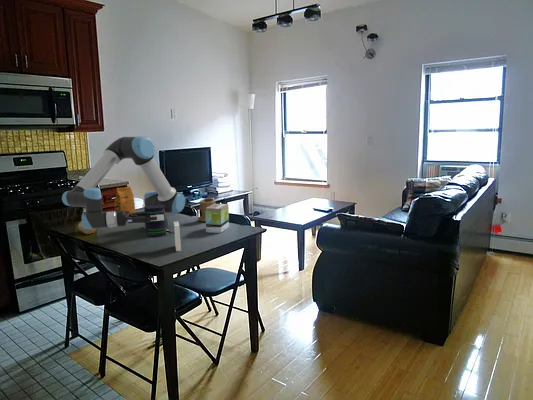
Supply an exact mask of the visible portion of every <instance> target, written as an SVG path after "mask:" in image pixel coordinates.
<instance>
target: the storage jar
mask: <svg viewBox="0 0 533 400" xmlns="http://www.w3.org/2000/svg"><path fill="white" fill-rule="evenodd" d="M143 209H144V210H143V211H145V212H144V214H145V216H151V215H163V214H164V220H160V221H150V223H146V229H145V233H146V238H148V239H158V238H162V237H165V236H167V228H166V224H165V216H166V212H165V210H164V205H161V204H155V205H147V206H145V205H144V207H143Z"/></svg>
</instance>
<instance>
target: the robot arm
mask: <svg viewBox="0 0 533 400" xmlns="http://www.w3.org/2000/svg"><path fill="white" fill-rule="evenodd" d="M155 151H156V150H155V144H154V142H153V141H152V140H151V138H149V137H148V136H147V137H146V136H142V135H141V136H140V135H138V136H122V137H119V138H117V139H115V140H114V141H113V142H111V143H110V144H109V145H108V146H107V147H106V148H105V149H104V150H103V155H102V156H101V157H100V158H99V159H98V160H97V162H95V164H94V165H93V166H92V167H91V168H90V169H89V171H88V172H87V173H86V174H85V175H84V176H83V177H82V178H81V180H79V182H78V183H77V184H76V185H75V186H74V187H73V188H72V189H71V190H67V191H65V192H63V193H62V196H61V201H62V203H63V204H64V205H65V206H68V207H73V208H74V207H75V208H76V207H78V208H85V213H83V214H82V215H81V221H82V226H83V228H84V229H96V230H97V229H103V228H110V229H112V228H114V227H115V228H116V227H125V226H127V224H139V223H140V224H141V223H143V229H144V230H146V223H150V221H160V220H164V214H163V215H151V216H145V214H144V212H145V211H144V210H143V211H137V212H136V211H135V213H129V214H128V215H125V211H117V212H115V210H114V211H113V210H112V211H105V212H104V211H103V210H104V209H103V198H102V192H101V189H100V188H99V187H97V186H98V185H99V184H100V182H102V180H103V179H104V178H105V177H106V176H107V174H108V173H109V172H110V171H111V170H112V168H113V167H114V166H116V164H119V163H120V162H121V161H122V160H126V159H131V160H132V162H133V163H134V164H135V166H138V167H140V169H141V170H142V172H143V173H144V175H145V176H146V178H147V179H148V181H149V183H150V184H151V186H152V187H153V189H154V190H152V191H148V192H147V191H146V192H145V193H144V196H143V197H144V198H143V200H144V201H143V202H144V206H147V205H155V204H161V205H164V210H165V213H172V214H175V213H176V214H178V213H181V212H182V211H183V209H184V208H185V203H186V197H185V195H184V194H183V193H178V191H177V190H176V188H175V187H172V186H171V185H170V183H169V181H168V180H167V178H166V177H165V174H164V173H163V171H162V170H161V168H160V167H159V165H158V163H157V162H156V160H155V158H154V157H155ZM165 224H166V229H167V228H169V227H170V225H169V224H170V223H169V221H168V218H167V215H165Z"/></svg>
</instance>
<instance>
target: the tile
mask: <svg viewBox="0 0 533 400" xmlns="http://www.w3.org/2000/svg"><path fill="white" fill-rule="evenodd" d="M180 229H181V228H180V223H179V221H178V220H177V221H173V230H174V231H173V233H174V245H175V246H174V247H175V251H176V252H182V244H181V243H182V242H181V231H180Z"/></svg>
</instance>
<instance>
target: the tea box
mask: <svg viewBox="0 0 533 400" xmlns="http://www.w3.org/2000/svg"><path fill="white" fill-rule="evenodd" d="M205 213H206V221H205V232H206V233H211V234H213V233H216V234H221V233H223V232H224V231H225V230H226V229H228V228H230V217H229V204H228V203H225V204H224V203H215V204H213V205H211V206H209V207H207V208H205Z"/></svg>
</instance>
